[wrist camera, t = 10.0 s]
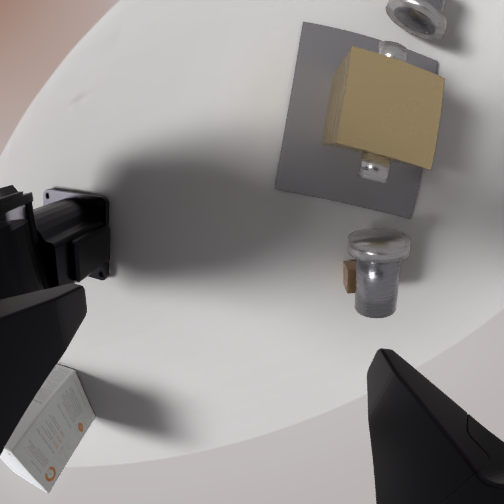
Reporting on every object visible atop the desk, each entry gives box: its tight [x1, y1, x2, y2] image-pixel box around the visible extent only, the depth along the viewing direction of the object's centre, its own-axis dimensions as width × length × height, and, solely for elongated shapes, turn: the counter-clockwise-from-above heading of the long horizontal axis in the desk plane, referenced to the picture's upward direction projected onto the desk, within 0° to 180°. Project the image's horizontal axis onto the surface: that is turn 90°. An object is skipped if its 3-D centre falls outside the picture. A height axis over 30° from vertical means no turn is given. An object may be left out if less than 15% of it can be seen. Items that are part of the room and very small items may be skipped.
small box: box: [0, 364, 95, 493], centre depth 23 cm, size 8×6×13 cm
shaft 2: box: [386, 0, 447, 40], centre depth 11 cm, size 4×4×5 cm
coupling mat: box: [275, 22, 437, 219], centre depth 16 cm, size 9×11×1 cm
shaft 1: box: [344, 229, 410, 318], centre depth 17 cm, size 4×4×5 cm
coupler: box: [321, 41, 445, 184], centre depth 13 cm, size 4×7×6 cm, turn 171°
